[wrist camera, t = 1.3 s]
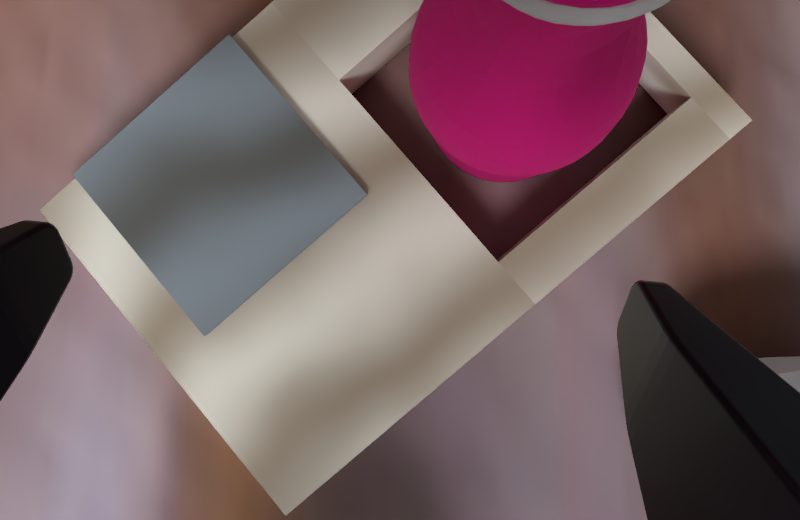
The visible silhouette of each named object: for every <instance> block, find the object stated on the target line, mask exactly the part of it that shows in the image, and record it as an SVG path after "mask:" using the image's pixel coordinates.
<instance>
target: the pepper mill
mask: <svg viewBox="0 0 800 520" xmlns="http://www.w3.org/2000/svg"><path fill="white" fill-rule="evenodd" d="M669 1H671V0H423V2H422V4H421V6H420V8H419V12H418V15H417V18H416V21H415V24H414V27H413V30H412V33H411V44H410V57H409V79H410V88H411V92H412V96H413V100H414V104H415V106H416V108H417V110H418V113H419V115H420V117H421V119H422V121H423V123H424V124H425V126H426V127H427V129H428V130H429V132H430V133H431V135H432V136H433V138H434V140H435V141H436V143H437V145H438V147H439V148H440V150H441V151H442V153H443V154H444V155H445V156H446V157H447V158H448V159H449V160H450V161H451V162H452V163H453V164H454V165H456V166H457V167H458V168H460V169H461V170H463V171H464V172H466V173H468V174H470V175H472V176H474V177H477V178H480V179H483V180H488V181H493V182H514V181H520V180H525V179H528V178H531V177H533V176H536V175H539V174H544V173H547V172H551V171H555V170H558V169H560V168H562V167H565V166H567V165H569V164H571V163H574V162H575V161H577V160H578V159H580V158H582V157H583V156H585V155H586V154H588V153H589V152H590V151H592V150H593V149H594V148H595V147H596V146H597V145H598V144H599V143H601V142H602V141H603V140H604V138H605V137H606V136H607V135H608V134H609V132H610V131H611V130H612V129H613V127H614V126H615V125H616V124H617V123H618V121H619V120H620V119H621V118H622V116H623V115H624V113H625V111H626V110H627V108H628V106H629V105H630V103H631V101H632V100H633V98H634V95H635V92H636V89H637V86H638V83H639V80H640V77H641V74H642V71H643V67H644V63H645V60H646V51H647V43H648V39H647V23H646V17H645V14H646V13H649V12H651V11H653V10H655V9H657V8H659V7H661V6H663V5H665V4H666V3H668V2H669Z"/></svg>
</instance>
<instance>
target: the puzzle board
mask: <svg viewBox="0 0 800 520" xmlns="http://www.w3.org/2000/svg"><path fill="white" fill-rule="evenodd" d="M422 2H423V0H274V1H272V2H271V3H270V4H269V5H268V6H267V7H266V8H265V9H264V10H262V11H261V12H260V13H259V14H258V15H257V16H256V17H255V18H253V19H252V20H251V21H250V22H249V23H248V24H247V25H246V26H245V27H243V28H242V29H241V30H240V31H239V32H238V33H237V34H236V35H235V36H233V37H231V36H230V35H228V36H226V37H225V38H224V39H223V40H222V41H221V42H220V43H219V44H217V45H216V46H215V47H214V48H213V49H212V50H211V51H210V52H209V53H207V54H206V55H205V56H204V57H203V58H202V59H201V60H200V61H199V62H197V63H196V64H195V65H194V66H193V67H192V68H191V69H190V70H188V71H187V72H186V73H185V74H184V75H183V76H182V77H181V78H180V79H178V80H177V81H176V82H175V83H174V84H173V85H172V86H171V87H170V88H168V89H167V90H166V91H165V92H164V93H163V94H162V95H161V96H160V97H158V98H157V99H156V100H155V101H154V102H153V103H152V104H151V105H149V106H148V107H147V108H146V109H145V110H144V111H143V112H142V113H141V114H139V115H138V116H137V117H136V118H135V119H134V120H133V121H132V122H131V123H129V124H128V125H127V126H126V127H125V128H124V129H123V130H122V131H121V132H119V133H118V134H117V135H116V136H115V137H114V138H113V139H112V140H110V141H109V142H108V143H107V144H106V145H105V146H104V147H103V148H102V149H100V150H99V151H98V152H97V153H96V154H95V155H94V156H93V157H92V158H90V159H89V160H88V161H87V162H86V163H85V164H84V165H83V166H81V167H80V168H79V169H78V170H77V171H76V172H75V173H74V174H73V176H74V177H75V179H74V180H73V181H72V182H71V183H69V184H68V185H67V186H66V187H65V188H64V189H63V190H62V191H61V192H59V193H58V194H57V195H56V196H55V197H54V198H53V199H52V200H50V201H49V202H48V203H47V204H46V205H45V206H44V207H43V208H42V209H40V211H41V212H42V214H43V215H44V216H45V217H46V219H47V220H48V221H49V222H50V223H51V224H53V225H54V226H55V227H56V228H57V229H58V231H59V233H60V236H61V237H62V239H63V240H64V241H65V242H66V243H67V245H68V246H69V247H70V248H71V250H72V251H73V252H74V253H75V255H76V256H77V257H78V258H79V260H80V261H81V262H82V263H83V265H84V266H85V267H86V268H87V270H88V271H89V272H90V273H91V275H92V276H93V277H94V278H95V280H96V281H97V282H98V283H99V285H100V286H101V287H102V288H103V290H104V291H105V292H106V293H107V294H108V296H109V297H110V298H111V299H112V301H113V302H114V303H115V304H116V306H117V307H118V308H119V309H120V311H121V312H122V313H123V314H124V316H125V317H126V318H127V319H128V321H129V322H130V323H131V324H132V326H133V327H134V328H135V329H136V331H137V332H138V333H139V334H140V336H141V337H142V338H143V339H144V340H145V342H146V343H147V344H148V345H149V347H150V348H151V349H152V350H153V352H154V353H155V354H156V355H157V357H158V358H159V359H160V360H161V362H162V363H163V364H164V365H165V367H166V368H167V369H168V370H169V372H170V373H171V374H172V375H173V377H174V378H175V379H176V380H177V382H178V383H179V384H180V385H181V386H182V388H183V389H184V390H185V391H186V393H187V394H188V395H189V396H190V398H191V399H192V400H193V401H194V403H195V404H196V405H197V406H198V408H199V409H200V410H201V411H202V413H203V414H204V415H205V416H206V418H207V419H208V420H209V421H210V423H211V424H212V425H213V426H214V428H215V429H216V430H217V431H218V433H219V434H220V435H221V436H222V437H223V439H224V440H225V441H226V442H227V444H228V445H229V446H230V447H231V449H232V450H233V451H234V452H235V454H236V455H237V456H238V457H239V459H240V460H241V461H242V462H243V464H244V465H245V466H246V467H247V469H248V470H249V471H250V472H251V474H252V475H253V476H254V477H255V479H256V480H257V481H258V482H259V483H260V485H261V486H262V487H263V488H264V490H265V491H266V492H267V493H268V495H269V496H270V497H271V498H272V500H273V501H274V502H275V503H276V505H277V506H278V507H279V508H280V510H281V511H282V512H283V513H284V515H285V516H286V515H287V514H289V513H290V512H291V511H292V510H293V509H294V508H296V507H297V506H298V505H299V504H300V503H301V502H303V501H304V500H305V499H306V498H307V497H309V496H310V495H311V494H312V493H313V492H314V491H316V490H317V489H318V488H319V487H320V486H322V485H323V484H324V483H325V482H326V481H327V480H329V479H330V478H331V477H332V476H333V475H334V474H336V473H337V472H338V471H339V470H340V469H342V468H343V467H344V466H345V465H346V464H347V463H349V462H350V461H351V460H352V459H353V458H355V457H356V456H357V455H358V454H359V453H360V452H362V451H363V450H364V449H365V448H366V447H367V446H369V445H370V444H371V443H372V442H373V441H375V440H376V439H377V438H378V437H379V436H380V435H382V434H383V433H384V432H385V431H386V430H388V429H389V428H390V427H391V426H392V425H393V424H395V423H396V422H397V421H398V420H399V419H401V418H402V417H403V416H404V415H405V414H406V413H408V412H409V411H410V410H411V409H412V408H413V407H415V406H416V405H417V404H418V403H419V402H421V401H422V400H423V399H424V398H425V397H426V396H428V395H429V394H430V393H431V392H432V391H434V390H435V389H436V388H437V387H438V386H439V385H441V384H442V383H443V382H444V381H445V380H446V379H448V378H449V377H450V376H451V375H452V374H454V373H455V372H456V371H457V370H458V369H459V368H461V367H462V366H463V365H464V364H465V363H467V362H468V361H469V360H470V359H471V358H472V357H474V356H475V355H476V354H477V353H478V352H480V351H481V350H482V349H483V348H484V347H485V346H487V345H488V344H489V343H490V342H491V341H492V340H494V339H495V338H496V337H497V336H498V335H500V334H501V333H502V332H503V331H504V330H505V329H507V328H508V327H509V326H510V325H511V324H513V323H514V322H515V321H516V320H517V319H518V318H520V317H521V316H522V315H523V314H524V313H525V312H527V311H528V310H529V309H530V308H531V307H533V306H534V305H535V304H536V303H537V302H538V301H540V300H541V299H542V298H543V297H544V296H546V295H547V294H548V293H549V292H550V291H551V290H553V289H554V288H555V287H556V286H557V285H558V284H560V283H561V282H562V281H563V280H564V279H566V278H567V277H568V276H569V275H570V274H571V273H573V272H574V271H575V270H576V269H577V268H579V267H580V266H581V265H582V264H583V263H584V262H586V261H587V260H588V259H589V258H590V257H592V256H593V255H594V254H595V253H596V252H597V251H599V250H600V249H601V248H602V247H603V246H604V245H606V244H607V243H608V242H609V241H610V240H612V239H613V238H614V237H615V236H616V235H617V234H619V233H620V232H621V231H622V230H623V229H625V228H626V227H627V226H628V225H629V224H630V223H632V222H633V221H634V220H635V219H636V218H637V217H639V216H640V215H641V214H642V213H643V212H645V211H646V210H647V209H648V208H649V207H650V206H652V205H653V204H654V203H655V202H656V201H658V200H659V199H660V198H661V197H662V196H663V195H665V194H666V193H667V192H668V191H669V190H671V189H672V188H673V187H674V186H675V185H676V184H678V183H679V182H680V181H681V180H682V179H683V178H685V177H686V176H687V175H688V174H689V173H691V172H692V171H693V170H694V169H695V168H696V167H698V166H699V165H700V164H701V163H702V162H704V161H705V160H706V159H707V158H708V157H709V156H711V155H712V154H713V153H714V152H715V151H716V150H718V149H719V148H720V147H721V146H722V145H724V144H725V143H726V142H727V141H728V140H729V139H731V138H732V137H733V136H734V135H735V134H737V133H738V132H739V131H740V130H741V129H742V128H744V127H745V126H746V125H747V124H748V123H749V122H751V121H752V120H751V118H750V117H749V116H748V115H747V114H746V113H745V112H744V111H743V110H742V109H741V108H740V107H739V106H738V105H737V104H736V102H735V101H734V100H733V99H732V98H731V97H730V96H729V95H728V94H727V93H726V92H725V91H724V90H723V89H722V88H721V87H720V85H719V84H718V83H717V82H716V81H715V80H714V79H713V78H712V77H711V76H710V75H709V74H708V73H707V72H706V71H705V70H704V68H703V67H702V66H701V65H700V64H699V63H698V62H697V61H696V60H695V59H694V58H693V57H692V56H691V55H690V54H689V52H688V51H687V50H686V49H685V48H684V47H683V46H682V45H681V44H680V43H679V42H678V41H677V40H676V39H675V38H674V37H673V35H672V34H671V33H670V32H669V31H668V30H667V29H666V28H665V27H664V26H663V25H662V24H661V23H660V22H659V21H658V19H657V18H656V17H655V16H654V15H653V14H652V13H651V12H649V13H646V14H645V17H646V23H647V39H648V43H647V51H646V60H645V63H644V67H643V71H642V74H641V77H640V80H639V84H640V85H641V86H642V87H643V88H644V89H645V90H646V91H647V92H648V94H649V95H650V96H651V97H652V98H653V99H654V100H655V101H656V102H657V103H658V104H659V105H660V106H661V108H662V109H663V110H664V111H665V112H666V113H667V115H666V116H665V117H664V118H662V119H661V120H660V121H659V122H658V123H656V124H655V125H654V126H653V127H652V128H651V129H649V130H648V131H647V132H646V133H645V134H644V135H642V136H641V137H640V138H639V139H638V140H637V141H635V142H634V143H633V144H632V145H631V146H630V147H628V148H627V149H626V150H625V151H624V152H623V153H621V154H620V155H619V156H618V157H617V158H616V159H614V160H613V161H612V162H611V163H610V164H609V165H607V166H606V167H605V168H604V169H603V170H602V171H600V172H599V173H598V174H597V175H596V176H595V177H593V178H592V179H591V180H590V181H589V182H588V183H586V184H585V185H584V186H583V187H582V188H580V189H579V190H578V191H577V192H576V193H575V194H573V195H572V196H571V197H570V198H569V199H568V200H566V201H565V202H564V203H563V204H562V205H561V206H559V207H558V208H557V209H556V210H555V211H554V212H552V213H551V214H550V215H549V216H548V217H547V218H545V219H544V220H543V221H542V222H541V223H540V224H538V225H537V226H536V227H535V228H534V229H533V230H531V231H530V232H529V233H528V234H527V235H526V236H524V237H523V238H522V239H521V240H520V241H519V242H517V243H516V244H515V245H514V246H513V247H511V248H510V249H509V250H508V251H507V252H506V253H504V254H503V255H502V256H501V257H500V258H499V259H497V260H496V259H495V258H494V257H493V255H492V254H491V253H490V252H489V251H488V250H487V249H486V247H485V246H484V245H483V244H482V243H481V242H480V241H479V239H478V238H477V237H476V236H475V235H474V234H473V233H472V231H471V230H470V229H469V228H468V227H467V226H466V225H465V223H464V222H463V221H462V220H461V219H460V218H459V217H458V215H457V214H456V213H455V212H454V211H453V210H452V208H451V207H450V206H449V205H448V204H447V203H446V202H445V200H444V199H443V198H442V197H441V196H440V195H439V194H438V192H437V191H436V190H435V189H434V188H433V187H432V186H431V184H430V183H429V182H428V181H427V180H426V179H425V178H424V176H423V175H422V174H421V173H420V172H419V171H418V170H417V168H416V167H415V166H414V165H413V164H412V163H411V162H410V160H409V159H408V158H407V157H406V156H405V155H404V154H403V152H402V151H401V150H400V149H399V148H398V147H397V146H396V144H395V143H394V142H393V141H392V140H391V139H390V138H389V136H388V135H387V134H386V133H385V132H384V131H383V130H382V128H381V127H380V126H379V125H378V124H377V123H376V122H375V120H374V119H373V118H372V117H371V116H370V115H369V114H368V112H367V111H366V110H365V109H364V108H363V107H362V106H361V104H360V103H359V102H358V101H357V100H356V99H355V98H354V96H353V95H352V94H353V93H354V92H355V91H356V90H357V89H358V88H359V87H361V86H362V85H363V84H364V83H365V82H366V81H367V80H369V79H370V78H371V77H372V76H373V75H374V74H375V73H376V72H378V71H379V70H380V69H381V68H382V67H383V66H384V65H386V64H387V63H388V62H389V61H390V60H391V59H392V58H393V57H395V56H396V55H397V54H398V53H399V52H400V51H401V50H403V49H404V48H405V47H406V46H407V45H408V44H409V43H411V33H412V30H413V27H414V24H415V21H416V18H417V15H418V12H419V8H420V6H421V4H422Z"/></svg>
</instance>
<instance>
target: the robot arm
mask: <svg viewBox="0 0 800 520" xmlns="http://www.w3.org/2000/svg"><path fill="white" fill-rule="evenodd" d="M72 273H73V265H72V261H71V259H70V257H69V254H68V252H67V250H66V247H65V245H64V243H63V240H62V238H61V236H60V233H59V231H58V229H57V228H56V227H55V226H54V225H53V224H51V223H48V222H40V221H29V220H26V221H21V222H18V223H15V224H12V225H9V226H6V227H3V228H1V229H0V401H1V399H2V398H3V396H4V395H5V393H6V392H7V390H8V389H9V387H10V386H11V384H12V383H13V381H14V380H15V378H16V377H17V375H18V374H19V372H20V371H21V369H22V368H23V366H24V365H25V363H26V362H27V360H28V358H29V357H30V355H31V353H32V351H33V350H34V348H35V346H36V344H37V342H38V340H39V339H40V337H41V335H42V333H43V331H44V329H45V327H46V325H47V323H48V322H49V320H50V318H51V316H52V314H53V312H54V310H55V308H56V306H57V304H58V303H59V301H60V299H61V297H62V295H63V293H64V291H65V289H66V287H67V285H68V284H69V282H70V280H71V277H72ZM617 339H618V349H619V359H620V369H621V378H622V388H623V398H624V408H625V416H626V424H627V430H628V435H629V440H630V445H631V449H632V454H633V458H634V462H635V467H636V471H637V475H638V480H639V484H640V488H641V493H642V497H643V501H644V506H645V510H646V515H647V519H648V520H800V392H798V391H797V390H796V389H795V388H794V387H792V386H791V385H790V384H789V383H787V382H786V381H785V380H784V379H783V378H781V377H780V376H779V375H778V374H776V373H775V372H774V371H773V370H772V369H770V368H769V367H768V366H767V365H766V364H764V363H763V362H762V361H761V360H759V359H758V358H757V357H756V356H755V355H753V354H752V353H751V352H750V351H748V350H747V349H746V348H745V347H744V346H742V345H741V344H740V343H739V342H737V341H736V340H735V339H734V338H733V337H731V336H730V335H729V334H728V333H727V332H725V331H724V330H723V329H722V328H720V327H719V326H718V325H717V324H716V323H714V322H713V321H712V320H711V319H709V318H708V317H707V316H706V315H705V314H703V313H702V312H701V311H700V310H699V309H697V308H696V307H695V306H694V305H692V304H691V303H690V302H689V301H688V300H686V299H685V298H684V297H683V296H681V295H680V294H679V293H678V292H677V291H675V290H674V289H673V288H672V287H671V286H669V285H668V284H666V283H663V282H653V281H643V280H640V281H637V282H635V283H634V285H633V286H632V288H631V290H630V293H629V296H628V298H627V301H626V303H625V306H624V308H623V311H622V314H621V316H620V319H619V322H618V328H617Z"/></svg>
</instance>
